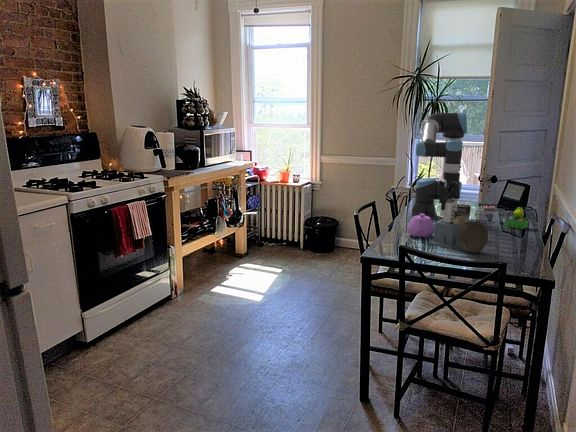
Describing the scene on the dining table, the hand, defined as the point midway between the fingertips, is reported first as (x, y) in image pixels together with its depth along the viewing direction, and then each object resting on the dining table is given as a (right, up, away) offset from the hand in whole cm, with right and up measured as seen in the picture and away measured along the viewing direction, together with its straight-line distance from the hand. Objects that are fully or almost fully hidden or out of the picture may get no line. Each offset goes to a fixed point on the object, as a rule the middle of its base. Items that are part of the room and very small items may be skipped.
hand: (448, 213), depth 232 cm
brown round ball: (+7, -19, -10) cm, 22 cm away
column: (0, -14, +3) cm, 14 cm away
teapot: (-10, -12, +15) cm, 22 cm away
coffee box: (+12, -11, +19) cm, 26 cm away
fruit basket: (+50, -8, +32) cm, 60 cm away
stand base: (0, -15, +4) cm, 15 cm away
